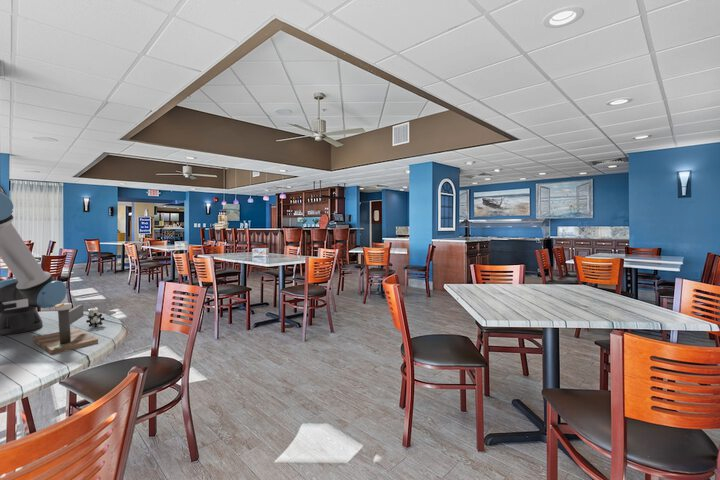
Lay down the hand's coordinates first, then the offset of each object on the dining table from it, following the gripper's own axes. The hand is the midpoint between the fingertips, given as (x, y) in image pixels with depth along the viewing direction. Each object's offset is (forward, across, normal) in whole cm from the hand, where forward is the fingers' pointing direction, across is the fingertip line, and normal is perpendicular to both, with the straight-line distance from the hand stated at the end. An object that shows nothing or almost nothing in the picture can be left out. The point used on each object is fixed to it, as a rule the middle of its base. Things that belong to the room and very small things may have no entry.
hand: (27, 302), depth 129 cm
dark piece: (+10, +7, -16) cm, 20 cm away
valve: (+24, -13, -18) cm, 33 cm away
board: (+9, +5, -17) cm, 20 cm away
